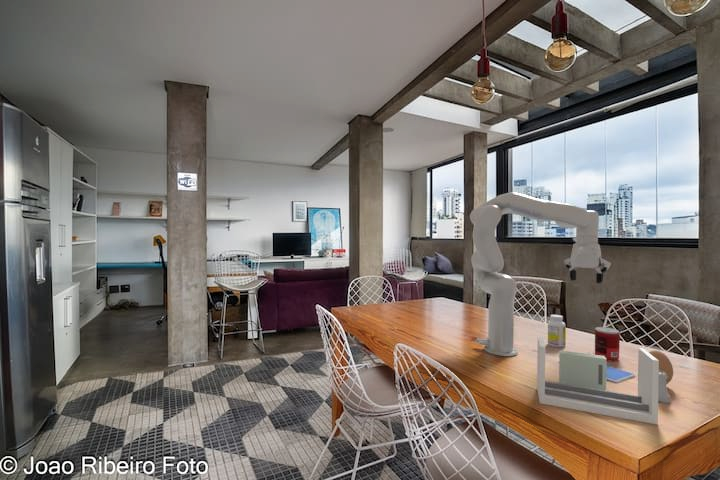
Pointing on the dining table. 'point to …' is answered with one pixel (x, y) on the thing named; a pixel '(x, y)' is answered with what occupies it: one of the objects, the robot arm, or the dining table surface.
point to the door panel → (582, 370)
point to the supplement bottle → (556, 331)
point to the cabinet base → (605, 392)
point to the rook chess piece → (663, 388)
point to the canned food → (607, 343)
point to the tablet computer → (617, 375)
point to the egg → (663, 364)
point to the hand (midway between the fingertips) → (585, 281)
